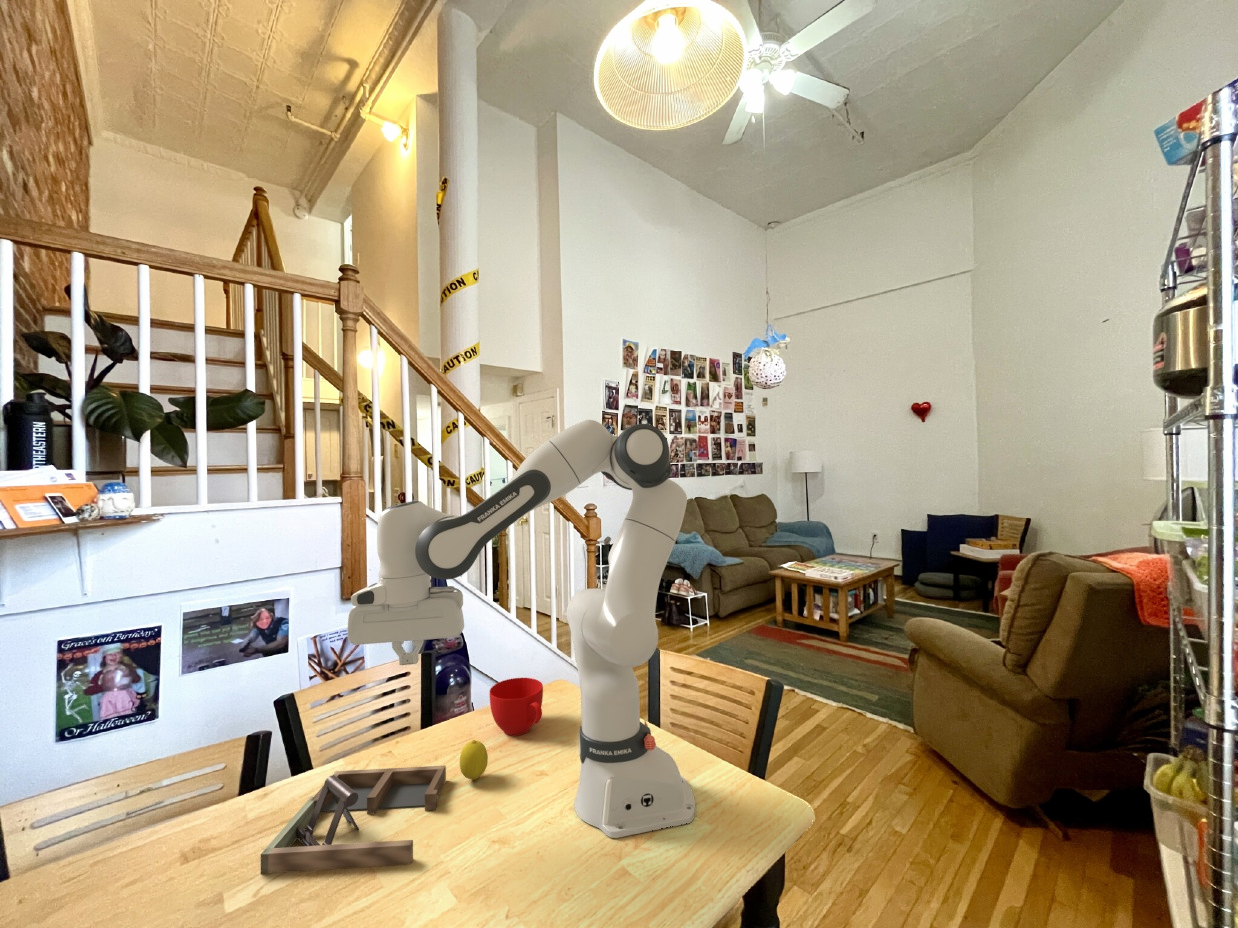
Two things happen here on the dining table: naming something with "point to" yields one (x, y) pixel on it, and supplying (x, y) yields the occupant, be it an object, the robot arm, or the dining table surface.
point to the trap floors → (387, 797)
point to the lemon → (473, 760)
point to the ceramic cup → (516, 704)
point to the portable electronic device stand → (343, 799)
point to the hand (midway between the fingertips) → (409, 663)
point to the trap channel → (353, 854)
